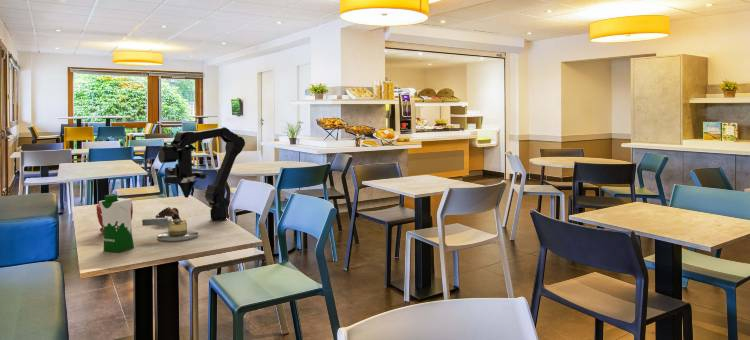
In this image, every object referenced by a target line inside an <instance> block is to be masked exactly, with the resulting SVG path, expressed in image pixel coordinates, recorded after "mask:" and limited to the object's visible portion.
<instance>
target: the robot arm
mask: <svg viewBox="0 0 750 340" xmlns="http://www.w3.org/2000/svg"><path fill="white" fill-rule="evenodd" d="M219 137H220V138H221V140H222V142H224V143H225V146H224V147H225V149H224V150H225V154H224V157H223V159H222V162H221V165H220V167H219V168H218V169H219V170H218V172H217V175H216V177H215V180H214V181H213V183H212V184H208V185H207V187H206V190H205V191H204V194H205V195H204V198H205V200H206V201H207V202H208V205H209V206H211V208H210V210H209V211H210V219H211V221H212V222H214V221H215V222H216V221H218V220H219V221H227V220H228V215H227V207H229V205H230V201H229V200H228V199H227V198H226V197H225V196H226V184H227V181H228V179H229V177H230V176H229V175H230V174H231V171H232V168H233V166H234V164H235V160H236V158H237V157H238V155H239V154H240V153H241V152H242V151H243V149H244V147H245V146H246V142H245V139H244V138H243V137H242V136H239V135H238V134H237V133H234V132H233V131H231V130H230V129H229V128H228V127H225V126H219V127H215V128H209V129H203V130H197V131H178V132H176V133H175V135H174V138H173V140H172V141H171V143H170V144H169V146H163V145H161V146H159V147H160V148H159V150H158V154H157V158H158V161H159V163H161V164H166V163H175V164H174V168H172V167H170V166H167V167H165V168H164V173H165V176H164V178H163V181H164V184H170V185H171V184H172V185H176V184H177V185H178V186H179V188H180V190H181V192H182V194H183V196H184V198H185V199H186V198H189V196H190V194H191V192H192V189H193V187H194V185H195V183H197V180H195V179H200V180H204V179H206V178H207V174H206V173H205V172H204V171H193V166H194V167H195V163H194V162H193V156H192V153H193V152H192V151H197V148H196V147H195V146H194V145H193V144H196V143H197V142H200V141H203V140H209V139H215V138H219ZM176 162H177V163H176ZM226 218H227V219H226ZM225 219H226V220H225Z"/></svg>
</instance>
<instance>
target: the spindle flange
mask: <svg viewBox="0 0 750 340" xmlns="http://www.w3.org/2000/svg"><path fill="white" fill-rule="evenodd" d="M172 220H173V219H172ZM181 220H182V219H181V218H180V219H176V220H173V222H174V223H175V224H178V223H179V222H181ZM198 237H199V232H198V231H196V230H191V229H187V234H184V235H176V236H173V235H168V231H165V232H161V233H158V235H157V237H156V238H157V241H159V242H164V243H178V242H186V241H191V240H194V239H197V238H198Z"/></svg>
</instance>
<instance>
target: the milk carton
mask: <svg viewBox="0 0 750 340" xmlns="http://www.w3.org/2000/svg"><path fill="white" fill-rule="evenodd" d="M98 204H100V208H101V211H102V214H101V215H102V219H103V233H102V234H103V252H110V253H117V254H118V253H119V254H120V253H123V252H125V251H128V250H131V249H134V248H135V245H134V240H133V231H132V228H131V226H132V220H131V205H133V198H123V197H120V198H119V197H118V194H114V193H113V194H111V193H110V194H106V195H104V200H99V201H98Z"/></svg>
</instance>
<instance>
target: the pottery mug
mask: <svg viewBox="0 0 750 340" xmlns="http://www.w3.org/2000/svg"><path fill="white" fill-rule="evenodd" d="M168 217H169V218H170V217H171V219H172V220H176V219H181V217H180V212H179V209H178V208H176V207H170V206H169V207H165V208H164V209H162V210H161V211H160V212H158V214H156V215H155V218H168Z"/></svg>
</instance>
